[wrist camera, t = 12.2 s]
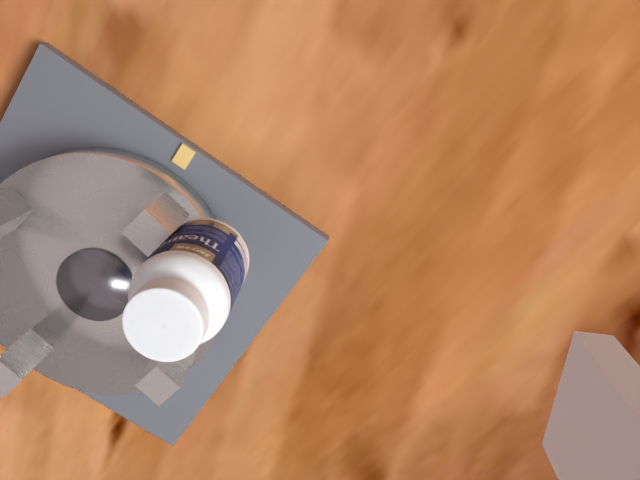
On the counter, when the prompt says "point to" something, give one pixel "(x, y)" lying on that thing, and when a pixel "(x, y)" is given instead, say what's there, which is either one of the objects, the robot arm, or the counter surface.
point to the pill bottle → (185, 290)
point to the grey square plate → (198, 171)
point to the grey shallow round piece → (86, 268)
